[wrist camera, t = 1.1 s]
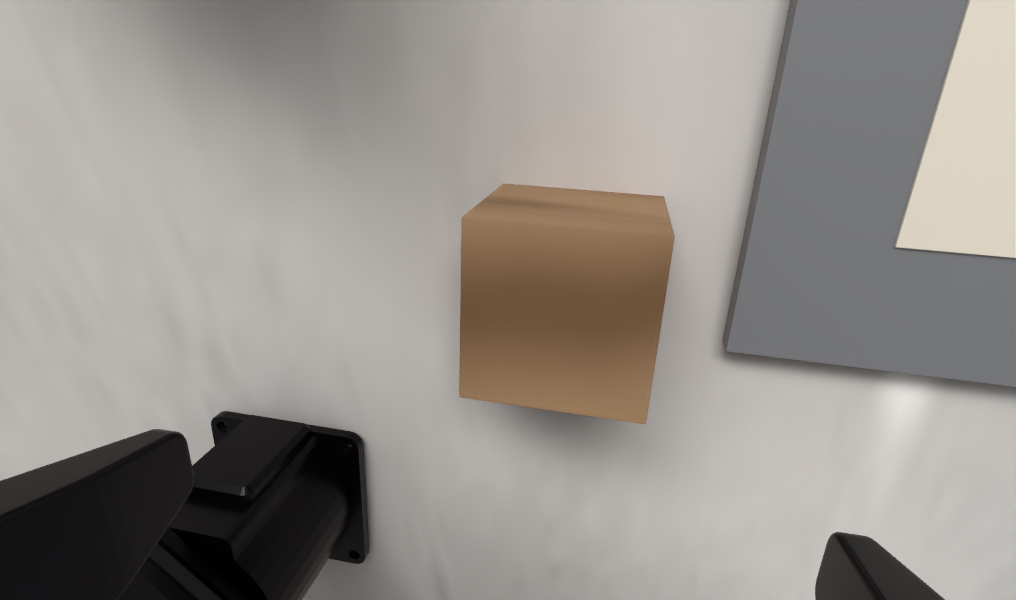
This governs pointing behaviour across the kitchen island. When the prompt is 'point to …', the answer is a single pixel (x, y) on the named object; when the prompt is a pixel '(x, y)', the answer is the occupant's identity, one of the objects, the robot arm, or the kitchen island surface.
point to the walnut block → (563, 299)
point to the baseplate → (886, 193)
